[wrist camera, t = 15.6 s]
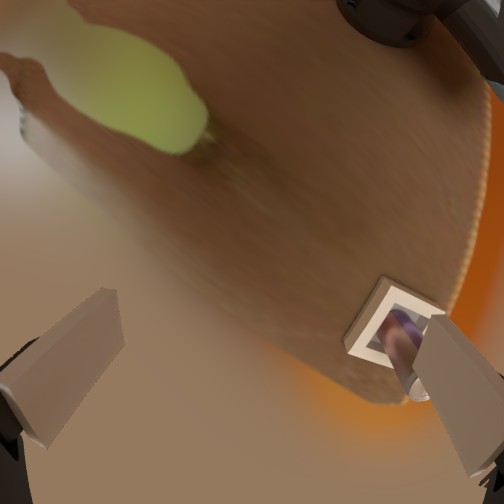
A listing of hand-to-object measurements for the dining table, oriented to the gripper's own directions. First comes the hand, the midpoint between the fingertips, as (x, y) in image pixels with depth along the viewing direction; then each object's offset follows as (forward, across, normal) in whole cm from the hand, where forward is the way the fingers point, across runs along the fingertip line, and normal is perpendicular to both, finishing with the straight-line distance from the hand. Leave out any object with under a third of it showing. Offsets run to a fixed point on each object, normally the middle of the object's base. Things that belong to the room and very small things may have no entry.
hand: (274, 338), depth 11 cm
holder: (+29, +20, -15) cm, 38 cm away
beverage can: (+28, +20, -15) cm, 38 cm away
